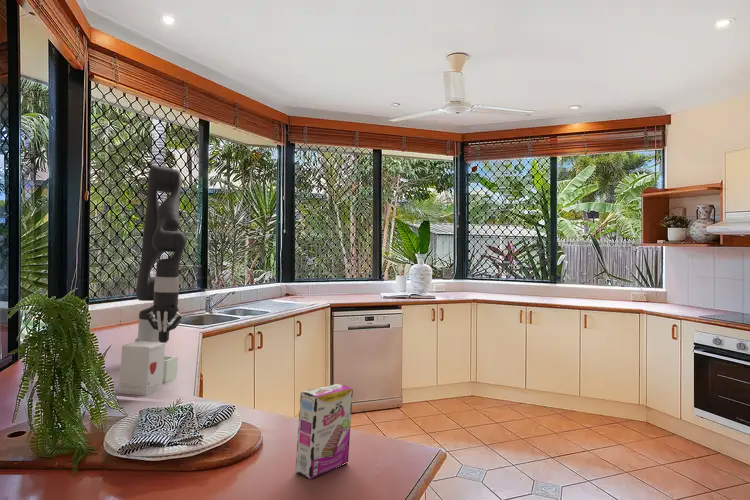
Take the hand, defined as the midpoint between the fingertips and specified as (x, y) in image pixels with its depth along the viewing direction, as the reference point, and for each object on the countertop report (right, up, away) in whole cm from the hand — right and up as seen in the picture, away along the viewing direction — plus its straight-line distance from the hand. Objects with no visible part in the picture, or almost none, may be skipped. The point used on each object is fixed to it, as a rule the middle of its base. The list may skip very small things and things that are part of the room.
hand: (163, 342), depth 160 cm
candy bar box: (+60, -15, -60) cm, 86 cm away
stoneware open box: (-1, -13, 0) cm, 13 cm away
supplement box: (-1, -13, -14) cm, 19 cm away
